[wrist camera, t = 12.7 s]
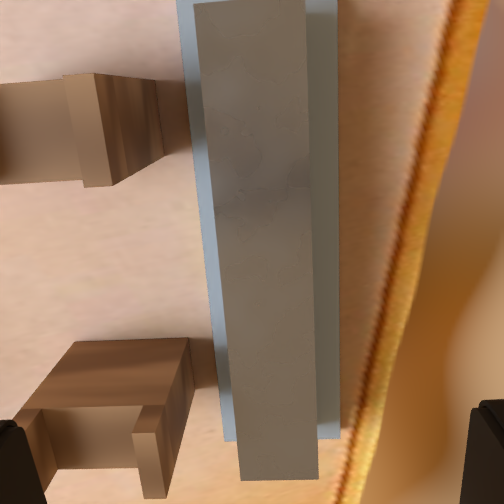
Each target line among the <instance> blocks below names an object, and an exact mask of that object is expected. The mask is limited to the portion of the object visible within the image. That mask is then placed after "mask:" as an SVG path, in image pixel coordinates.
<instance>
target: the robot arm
mask: <svg viewBox="0 0 504 504" xmlns="http://www.w3.org/2000/svg"><path fill="white" fill-rule="evenodd" d="M467 439H468V440H467V448H466V455H465V464H464V472H463V480H462V488H461V496H460V504H504V399H497V400H482V401H481V402H480V404H479V407H478V408H473V409H472V410H471V414H470V422H469V430H468V438H467ZM0 504H47V501H46V498H45V495H44V492H43V488H42V485H41V482H40V479H39V475H38V472H37V469H36V466H35V462H34V459H33V456H32V453H31V449H30V446H29V443H28V440H27V436H26V433H25V431H24V429H23V428H22V427H18V425H17V423H16V422H15V421H14V420H0Z"/></svg>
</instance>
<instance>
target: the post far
mask: <svg viewBox="0 0 504 504" xmlns="http://www.w3.org/2000/svg"><path fill="white" fill-rule="evenodd" d="M194 392H195V386H194V378H193V371H192V363H191V355H190V348H189V340H188V338H167V339H141V340H115V341H90V342H74V343H73V344H72V346H71V347H70V348H69V349H68V351H67V352H66V353H65V354H64V356H63V357H62V358H61V359H60V361H59V362H58V363H57V364H56V366H55V367H54V368H53V369H52V371H51V372H50V373H49V374H48V376H47V377H46V378H45V379H44V381H43V382H42V383H41V384H40V386H39V387H38V388H37V389H36V391H35V392H34V393H33V394H32V396H31V397H30V398H29V399H28V401H27V402H26V403H25V404H24V406H23V407H22V408H21V409H20V410H19V412H18V413H17V414H16V415H15V417H14V418H13V419H12V420H14V421H15V422H16V423H17V425H18V427H22V428H23V429H24V431H25V433H26V436H27V440H28V443H29V446H30V449H31V453H32V456H33V459H34V462H35V466H36V469H37V472H38V475H39V479H40V482H41V485H42V488H43V492H44V493H45V491H46V489H47V487H48V486H49V484H50V482H51V480H52V479H53V477H54V475H55V473H56V472H57V470H58V469H105V468H138V470H139V475H140V480H141V485H142V491H143V496H144V499H166V498H167V494H168V490H169V486H170V483H171V479H172V475H173V471H174V468H175V464H176V460H177V456H178V452H179V449H180V445H181V441H182V437H183V434H184V430H185V426H186V422H187V418H188V415H189V411H190V407H191V403H192V400H193V396H194Z"/></svg>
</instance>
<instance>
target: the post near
mask: <svg viewBox="0 0 504 504" xmlns="http://www.w3.org/2000/svg"><path fill="white" fill-rule="evenodd" d="M162 157H164V149H163V141H162V134H161V126H160V118H159V111H158V103H157V95H156V88H155V80H148V79H140V78H131V77H122V76H114V75H105V74H96V73H89V74H76V75H63V79H59V80H46V81H33V82H20V83H7V84H0V185H6V184H22V183H38V182H54V181H70V180H83V184H84V188H88V187H104V186H113V185H115V184H117V183H119V182H120V181H122V180H124V179H126V178H127V177H129V176H131V175H133V174H134V173H136V172H138V171H140V170H141V169H143V168H145V167H147V166H148V165H150V164H152V163H154V162H155V161H157V160H159V159H161V158H162Z"/></svg>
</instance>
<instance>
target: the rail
mask: <svg viewBox="0 0 504 504" xmlns="http://www.w3.org/2000/svg"><path fill="white" fill-rule="evenodd" d="M193 8H194V18H195V28H196V38H197V48H198V58H199V68H200V78H201V88H202V98H203V108H204V118H205V128H206V138H207V148H208V158H209V168H210V178H211V188H212V198H213V208H214V218H215V228H216V238H217V248H218V258H219V268H220V278H221V288H222V298H223V308H224V318H225V328H226V338H227V348H228V358H229V367H230V377H231V387H232V397H233V407H234V417H235V427H236V437H237V447H238V457H239V467H240V477H241V481H259V480H313V479H319V474H318V438H317V402H316V366H315V330H314V294H313V258H312V222H311V186H310V150H309V114H308V78H307V42H306V6H305V0H229V1H217V2H206V3H195V4H193Z"/></svg>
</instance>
